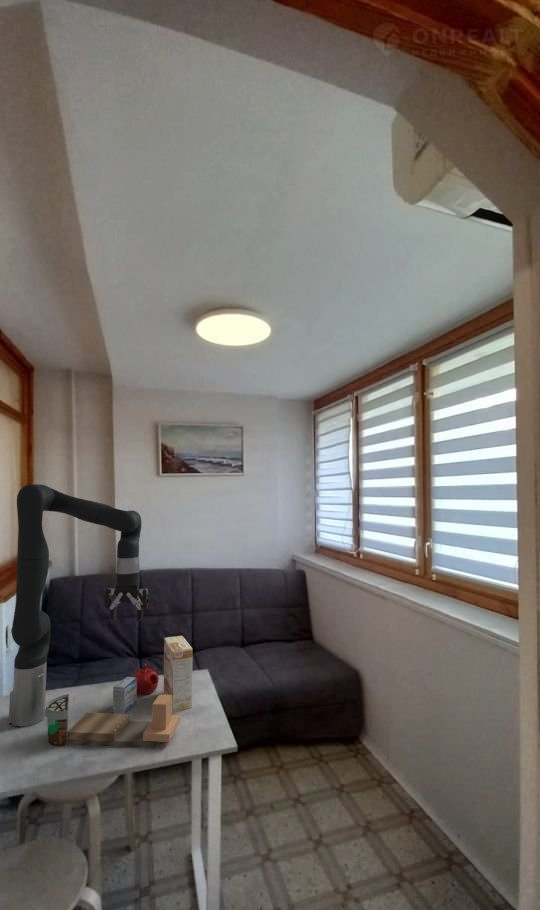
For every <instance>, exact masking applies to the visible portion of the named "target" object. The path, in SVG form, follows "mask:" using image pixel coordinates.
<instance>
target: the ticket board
mask: <svg viewBox="0 0 540 910" xmlns="http://www.w3.org/2000/svg"><path fill="white" fill-rule="evenodd" d="M151 721H152V720H151ZM151 721H150V720H148V721H146V720H131V714H130V713H126V714H115V713H113V712H112V713H110V712H86V713H85V714H84V715H82V716H81V718H80V719H79V720H78V721H77V722H76V723H75V724H74V725H72V727H71V728H70V729H69V730H67V742H66V746H88V747H89V746H90V747H94V746H95V747H114V748H118V747H119V748H143V749H144V748H145V749H156V748H157V746H158V744H159V743H160V742H157V741H143V733H144V731H145V730H146V728H147V727H148V725H149V724H150V722H151Z"/></svg>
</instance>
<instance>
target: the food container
mask: <svg viewBox="0 0 540 910" xmlns="http://www.w3.org/2000/svg"><path fill="white" fill-rule="evenodd" d="M69 695H70V694H69V693H66V694H62V695H59V696H57V697H55V698H53V699H52V700H50V701H49V702H48V703H47V705H46V706H45V716H44V717H45V718H46V721H47V742H48V744H49V746H53V747H64V746H65V745H66V746H67V733H68V731H69V730H68V725H69V723H68V721H69V698H70V697H69ZM66 746H65V747H66Z"/></svg>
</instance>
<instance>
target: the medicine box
mask: <svg viewBox="0 0 540 910" xmlns="http://www.w3.org/2000/svg"><path fill="white" fill-rule="evenodd" d="M137 695H138V694H137V678H134V677H133V676H125V677H124V678H123V679H122V680H120V681H119V682H117V683H116V684H115V685H114V686H112V713H115V714H128V712H129V711H130V710H131V709H132V708H133V707H134V706H135V705H136V704H137V699H138V698H137Z"/></svg>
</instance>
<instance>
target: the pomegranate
mask: <svg viewBox="0 0 540 910" xmlns="http://www.w3.org/2000/svg"><path fill="white" fill-rule="evenodd" d="M134 670H136V671H137V672H135V673H134V674H133V675H132V677H134V678H137V695H147V694H148V695H149V694H151V693H153V692H155V690H156V689H157V688H158V685H159V679H160V677H159V674H157V672H156V671H155V670H156V668H154V667H150V668H147V663H144V664H143V669H141V668H134Z"/></svg>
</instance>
